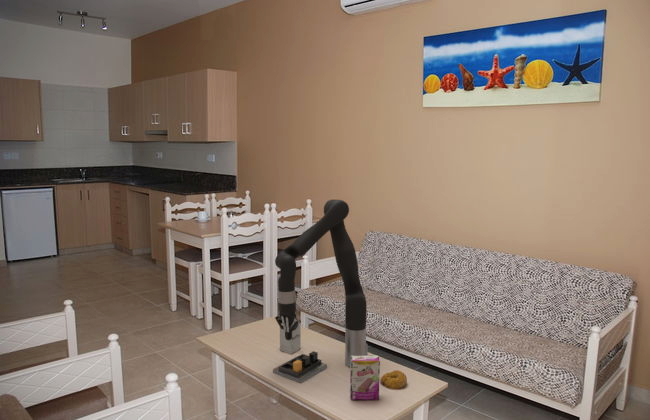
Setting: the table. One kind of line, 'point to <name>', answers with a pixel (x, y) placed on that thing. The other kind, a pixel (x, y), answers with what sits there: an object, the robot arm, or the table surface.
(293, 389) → the table surface
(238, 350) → the table surface
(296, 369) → the block
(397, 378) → the bagel
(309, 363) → the panel
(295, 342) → the supplement box
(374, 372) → the candy bar box
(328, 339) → the table surface
